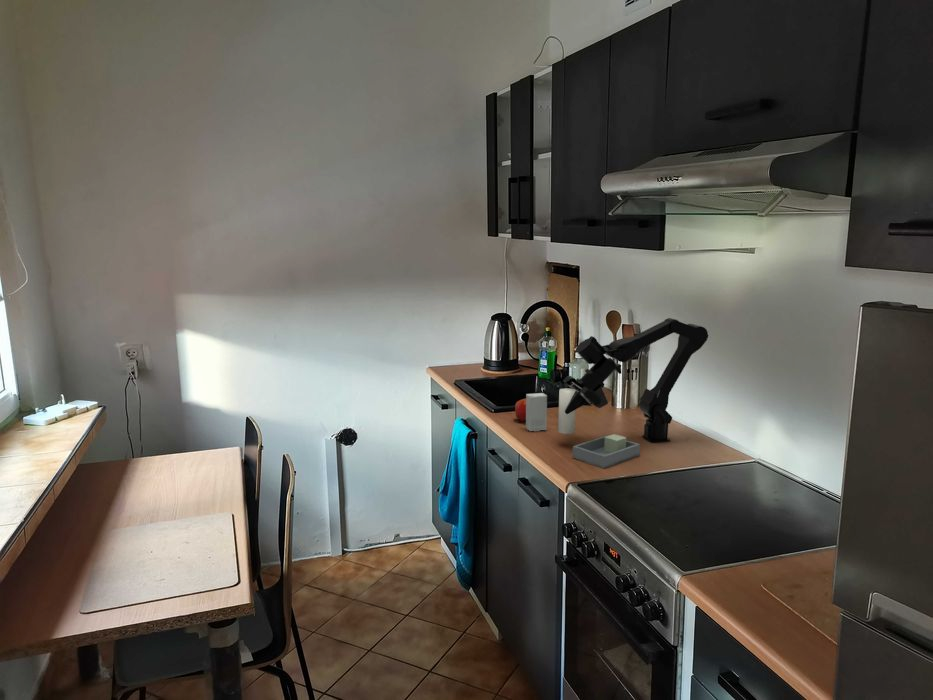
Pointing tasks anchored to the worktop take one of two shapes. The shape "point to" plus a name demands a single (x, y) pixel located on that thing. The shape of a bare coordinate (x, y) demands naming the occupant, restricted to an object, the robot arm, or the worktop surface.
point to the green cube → (614, 443)
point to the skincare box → (536, 412)
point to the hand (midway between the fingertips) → (562, 410)
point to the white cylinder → (565, 420)
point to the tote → (604, 453)
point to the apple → (521, 410)
